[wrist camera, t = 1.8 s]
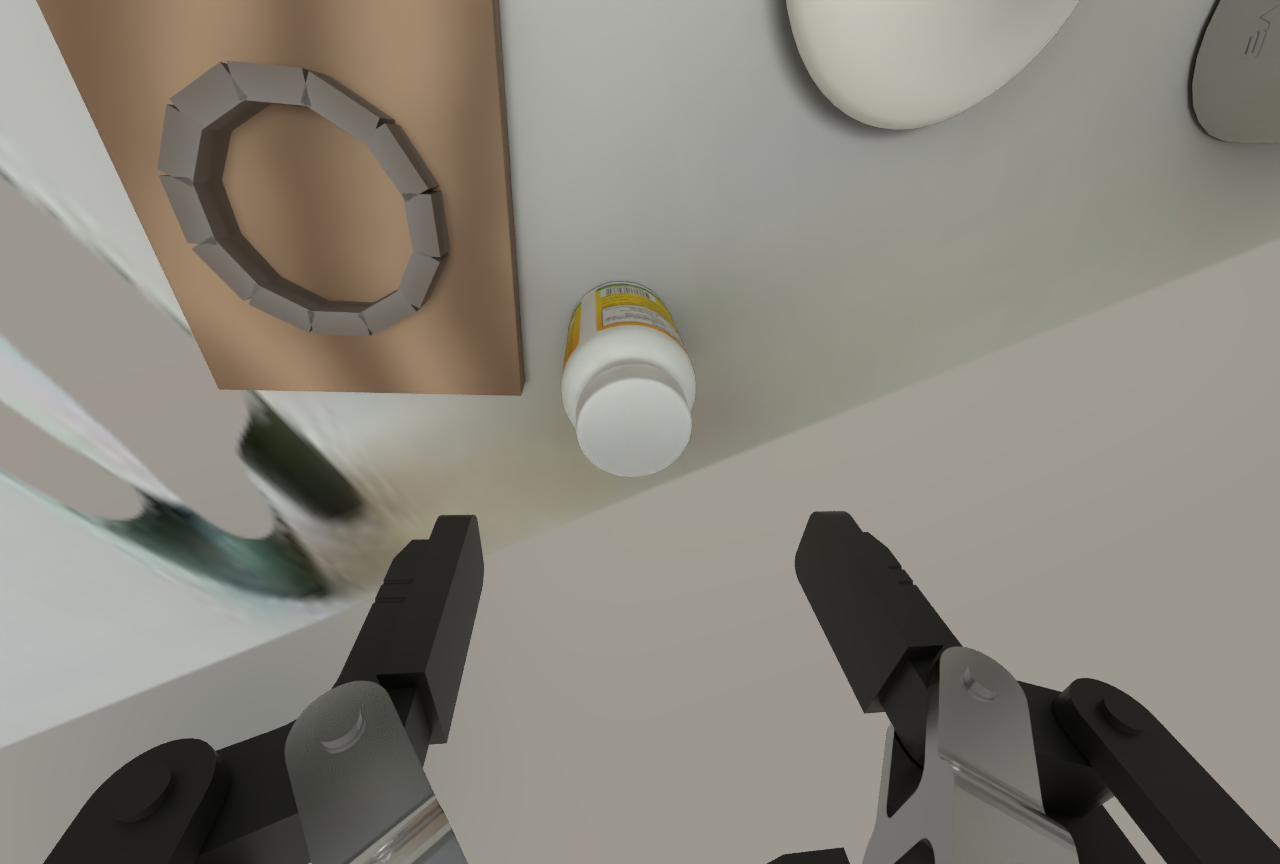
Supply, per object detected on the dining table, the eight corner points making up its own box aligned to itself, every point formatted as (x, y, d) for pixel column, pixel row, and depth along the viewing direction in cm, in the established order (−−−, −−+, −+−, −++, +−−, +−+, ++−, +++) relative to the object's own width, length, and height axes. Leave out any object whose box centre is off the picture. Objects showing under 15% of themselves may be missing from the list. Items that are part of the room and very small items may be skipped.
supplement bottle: (633, 256, 21) (660, 323, 13) (690, 343, 24) (741, 442, 16) (545, 321, 23) (521, 418, 15) (608, 396, 25) (617, 514, 17)
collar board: (496, -29, 16) (479, -61, 13) (524, 382, 24) (517, 410, 22) (38, -88, 14) (-81, -138, 12) (239, 375, 23) (195, 404, 20)
